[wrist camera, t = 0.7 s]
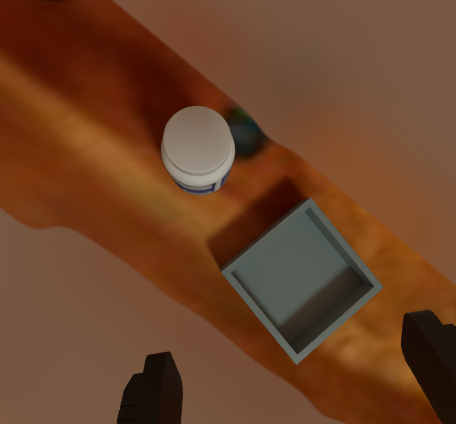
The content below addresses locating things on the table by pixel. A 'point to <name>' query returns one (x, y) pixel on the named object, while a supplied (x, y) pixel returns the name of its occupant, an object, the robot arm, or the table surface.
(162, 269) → the table surface
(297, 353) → the tray
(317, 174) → the table surface
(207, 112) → the pill bottle
